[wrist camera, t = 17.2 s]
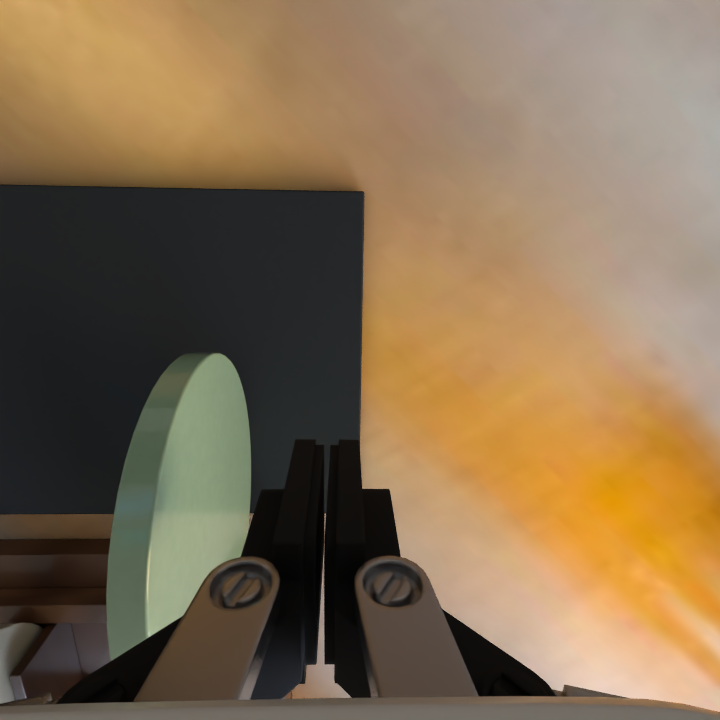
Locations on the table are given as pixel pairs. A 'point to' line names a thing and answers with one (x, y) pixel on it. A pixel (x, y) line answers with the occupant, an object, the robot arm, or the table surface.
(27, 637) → the cream plate
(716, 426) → the table surface
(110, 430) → the mat
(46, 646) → the plate rack
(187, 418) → the green plate
